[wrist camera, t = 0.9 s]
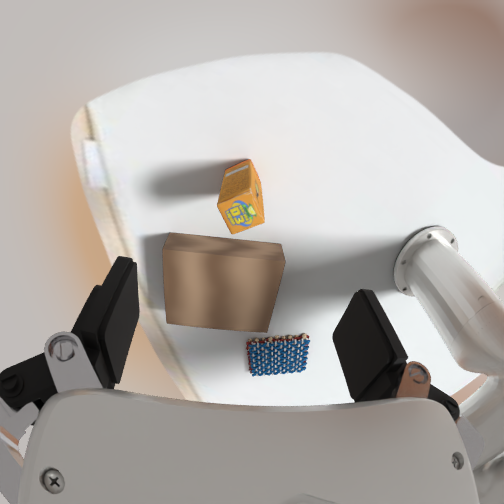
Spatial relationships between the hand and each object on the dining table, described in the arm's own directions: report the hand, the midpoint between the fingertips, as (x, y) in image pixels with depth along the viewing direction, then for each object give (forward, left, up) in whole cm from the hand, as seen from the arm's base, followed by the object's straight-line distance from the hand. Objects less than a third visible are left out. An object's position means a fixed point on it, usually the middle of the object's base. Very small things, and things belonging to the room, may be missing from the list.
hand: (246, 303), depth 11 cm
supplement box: (0, +1, -22) cm, 22 cm away
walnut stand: (+1, +15, -22) cm, 27 cm away
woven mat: (-10, +31, -23) cm, 40 cm away
